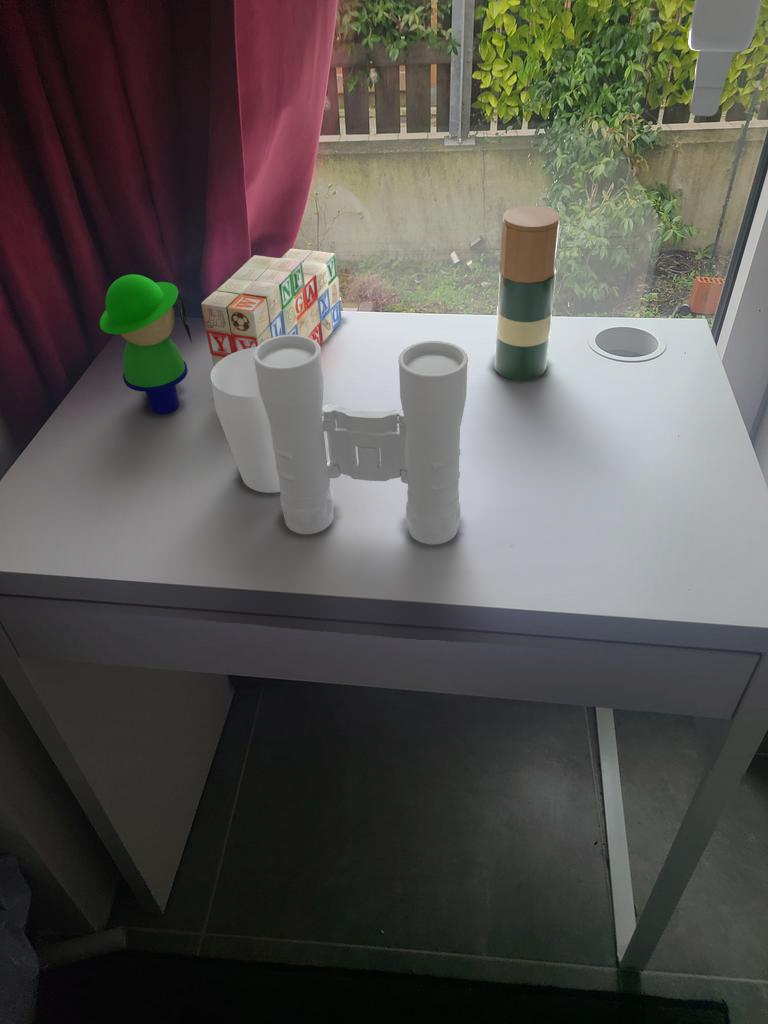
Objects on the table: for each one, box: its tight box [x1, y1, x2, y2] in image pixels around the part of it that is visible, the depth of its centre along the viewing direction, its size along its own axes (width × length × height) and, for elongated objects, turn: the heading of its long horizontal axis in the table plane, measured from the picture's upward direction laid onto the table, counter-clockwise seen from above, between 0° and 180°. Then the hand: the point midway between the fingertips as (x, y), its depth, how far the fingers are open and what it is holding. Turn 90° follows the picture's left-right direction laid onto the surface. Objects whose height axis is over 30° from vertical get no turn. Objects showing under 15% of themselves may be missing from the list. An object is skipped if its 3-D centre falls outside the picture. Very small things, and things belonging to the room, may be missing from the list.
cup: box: [210, 347, 280, 494], centre depth 78 cm, size 9×9×12 cm
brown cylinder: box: [499, 205, 561, 283], centre depth 86 cm, size 6×6×6 cm
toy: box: [99, 274, 193, 416], centre depth 88 cm, size 9×9×15 cm
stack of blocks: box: [200, 248, 343, 367], centre depth 95 cm, size 21×6×12 cm, turn 159°
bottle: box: [493, 269, 557, 381], centre depth 90 cm, size 6×6×17 cm
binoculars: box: [253, 335, 469, 545], centre depth 70 cm, size 17×5×18 cm, turn 81°
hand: (704, 94), depth 58 cm, fingers open, 8 cm apart
